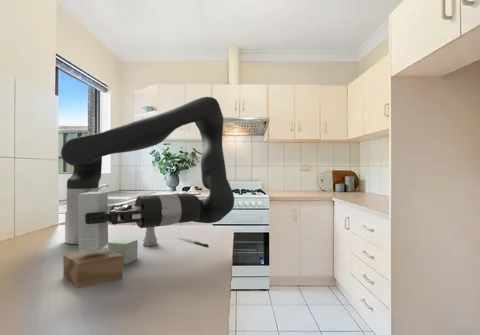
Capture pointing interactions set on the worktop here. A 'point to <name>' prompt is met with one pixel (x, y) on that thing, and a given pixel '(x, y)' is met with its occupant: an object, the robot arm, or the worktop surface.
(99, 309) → the worktop surface
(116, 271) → the walnut block
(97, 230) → the skincare box
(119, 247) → the grey-green cube
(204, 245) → the chef's knife
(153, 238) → the rook chess piece
